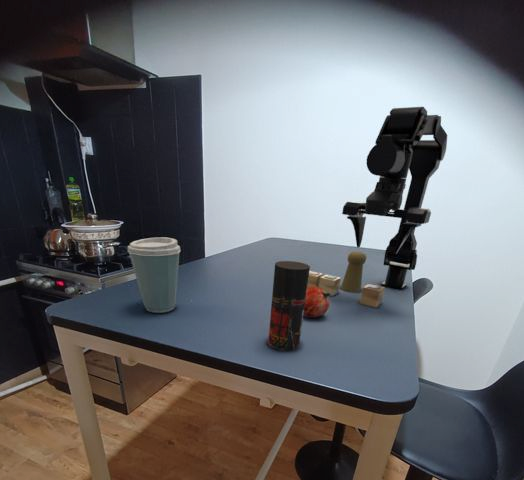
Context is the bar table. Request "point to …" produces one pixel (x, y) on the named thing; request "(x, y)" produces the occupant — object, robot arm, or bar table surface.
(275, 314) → the deodorant
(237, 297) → the bar table surface
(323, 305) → the pomegranate
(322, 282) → the block
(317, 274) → the block
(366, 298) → the block
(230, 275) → the bar table surface
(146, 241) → the disposable coffee cup
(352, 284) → the olive tapered pawn
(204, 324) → the bar table surface
